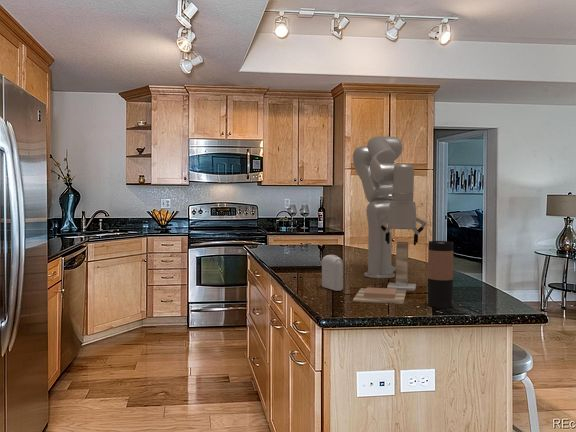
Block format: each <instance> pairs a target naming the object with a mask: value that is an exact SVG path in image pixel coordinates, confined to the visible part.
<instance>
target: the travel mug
mask: <svg viewBox="0 0 576 432" xmlns="http://www.w3.org/2000/svg"><path fill="white" fill-rule="evenodd" d="M427 248H428V249H427V251H428V254H427V305H428V306H429V307H430V308H437V309H449V307H450V308H452V304H453V289H454V287H453V286H454V242H453V241H448V240H446V241H445V240H430V241H428V247H427Z"/></svg>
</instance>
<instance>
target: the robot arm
mask: <svg viewBox="0 0 576 432" xmlns="http://www.w3.org/2000/svg"><path fill="white" fill-rule="evenodd" d="M402 152H403V142H402V140H401V139H400V138H399V137H397V136H384V135H383V136H381V135H380V136H373V137H371V138H370V139H369V140H368V141H367V144H366V145H363V146H358V147H356V148H355V149H354V151H353V154H352V162H353V166H354V170H355V171H356V172H355V173H356V175H358V177H359V179H360V180H361V185H362V188H363V192H364V196H365V198H366V200H367V202H368V204H367V206H366V209H365V210H366V211H365V212H366V219H367V226H368V228H367V229H368V233H367V234H368V240H367V241H368V244H367V245H368V246H367V248H368V249H367V259H368V261H367V271H366V272H365V271H364V274H363V275H364V277H366V278H371V279H393V278H396V273H395V272H396V265H395V266H394V265H392V243H393V242H392V237H393V236H392V232H391V230H392V229H393V230H412V231H413V232H414V233H413V246H416V245H417V244H418V242H419V234H420V233H422V231H424V229H425V227H426V225H427V222H426V221H425V220H423V219H421V218H419V217H417V206H416V201H414V191H415V189H414V188H415V187H414V186H415V167H414V165H413V164H409V163H408V164H406V163H395V161H396V160H397V159H398V158H400V156H401V155H402ZM417 223H418V224H421V225H420V227H419V228H417V227H416V226H417Z"/></svg>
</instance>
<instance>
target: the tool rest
mask: <svg viewBox="0 0 576 432" xmlns="http://www.w3.org/2000/svg"><path fill="white" fill-rule="evenodd" d="M386 288H389V289H397V290H402V291H409V292H410V291H412V292H413V291H414V292H416V288H417V284H416V283H408V285H407V287H402V286H396V282H388V284H387V287H386Z"/></svg>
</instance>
